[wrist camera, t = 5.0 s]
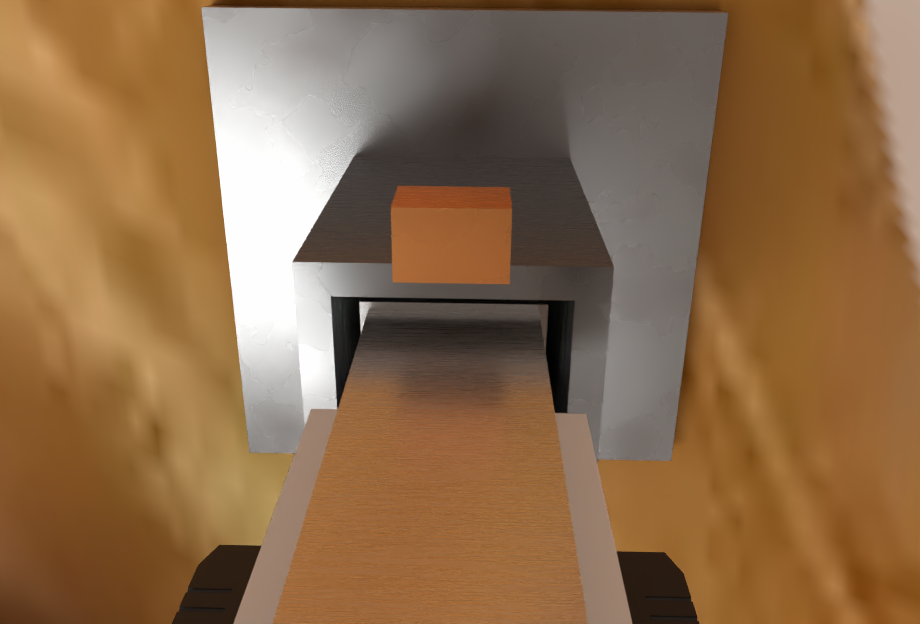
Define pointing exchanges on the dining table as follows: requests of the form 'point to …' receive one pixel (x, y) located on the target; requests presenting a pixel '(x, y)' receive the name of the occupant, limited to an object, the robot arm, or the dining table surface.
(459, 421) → the column
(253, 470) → the dining table surface
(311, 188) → the stand
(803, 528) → the dining table surface
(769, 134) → the dining table surface
